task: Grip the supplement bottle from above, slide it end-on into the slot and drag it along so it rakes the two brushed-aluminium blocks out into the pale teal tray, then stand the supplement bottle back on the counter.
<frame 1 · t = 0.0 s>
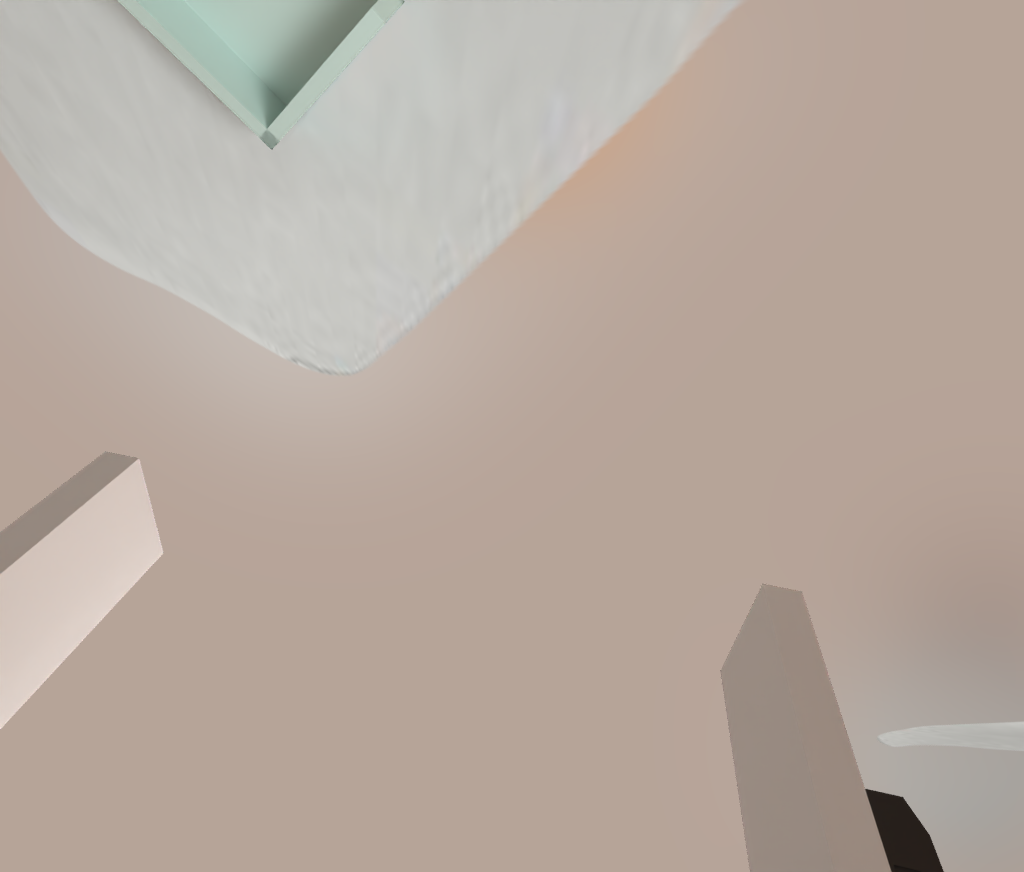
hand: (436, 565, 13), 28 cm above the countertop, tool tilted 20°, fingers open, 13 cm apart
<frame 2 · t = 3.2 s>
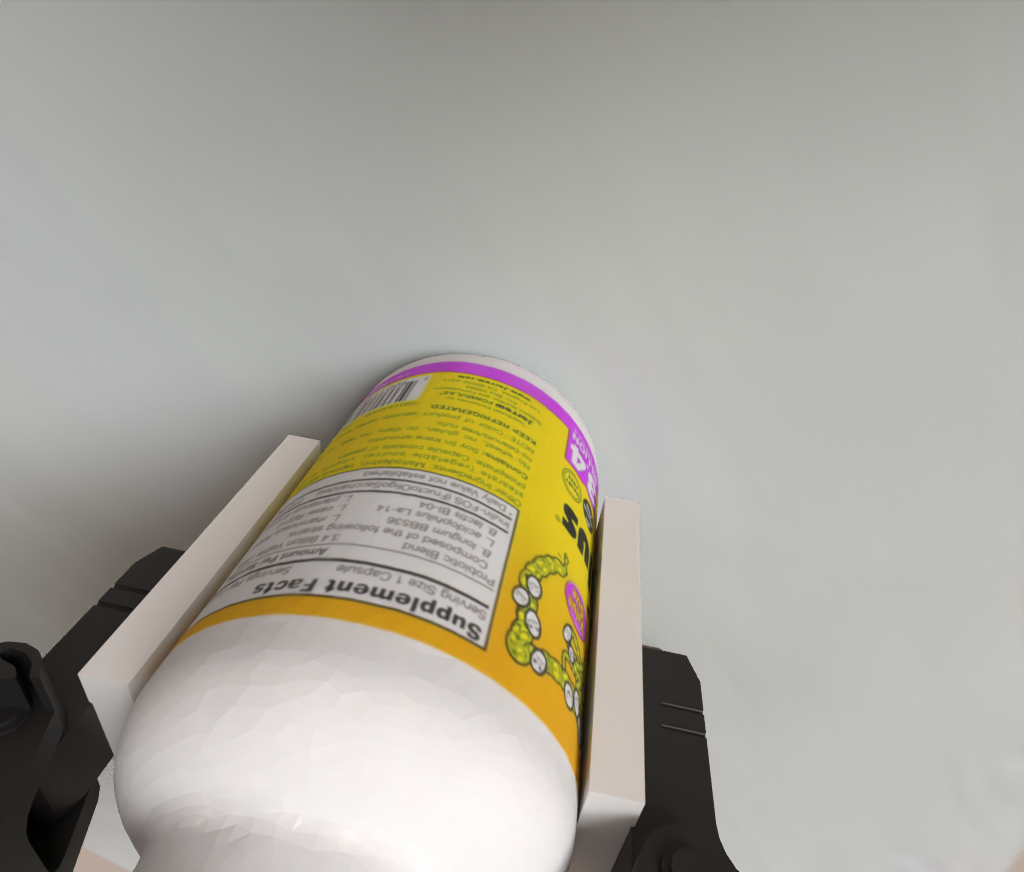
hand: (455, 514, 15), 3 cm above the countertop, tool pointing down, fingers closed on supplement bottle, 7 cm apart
supplement bottle: (479, 451, 17), on the countertop, touching gripper
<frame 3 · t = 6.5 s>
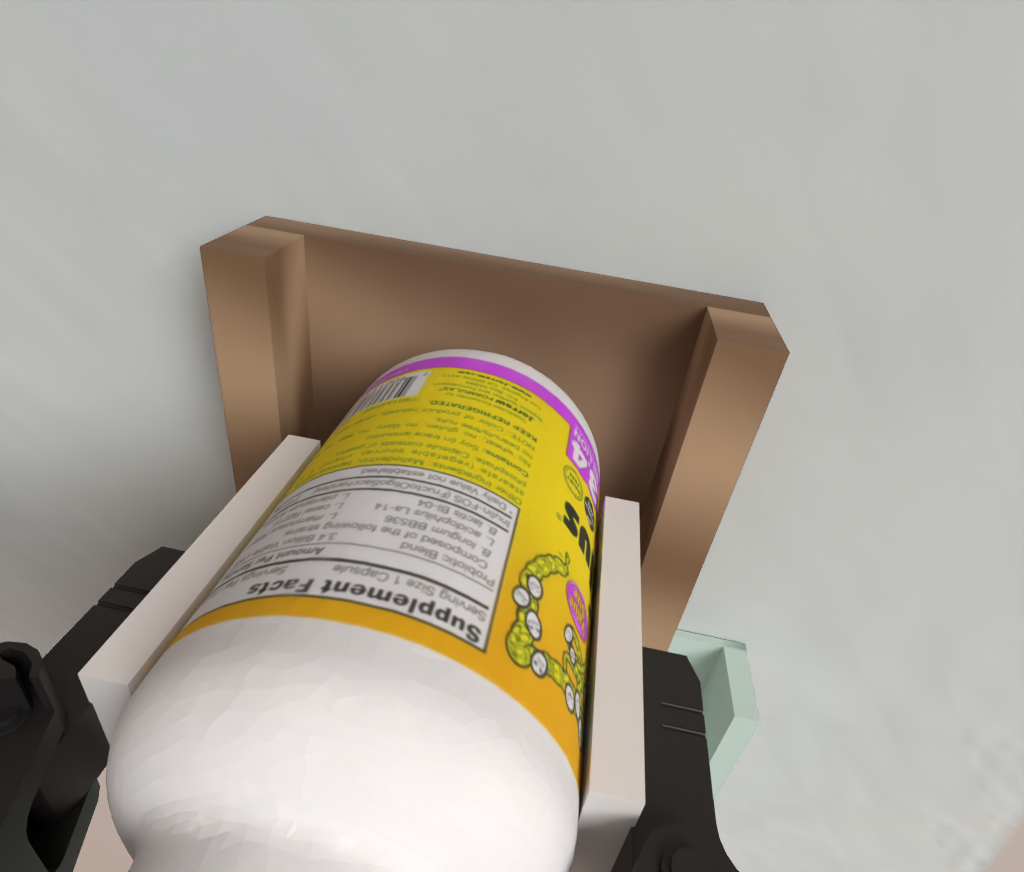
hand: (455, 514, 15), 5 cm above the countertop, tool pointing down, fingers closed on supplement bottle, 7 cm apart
slot board: (484, 449, 19), on the countertop
tray: (457, 671, 25), on the countertop
supplement bottle: (479, 448, 17), point 2 cm above the countertop, touching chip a, gripper
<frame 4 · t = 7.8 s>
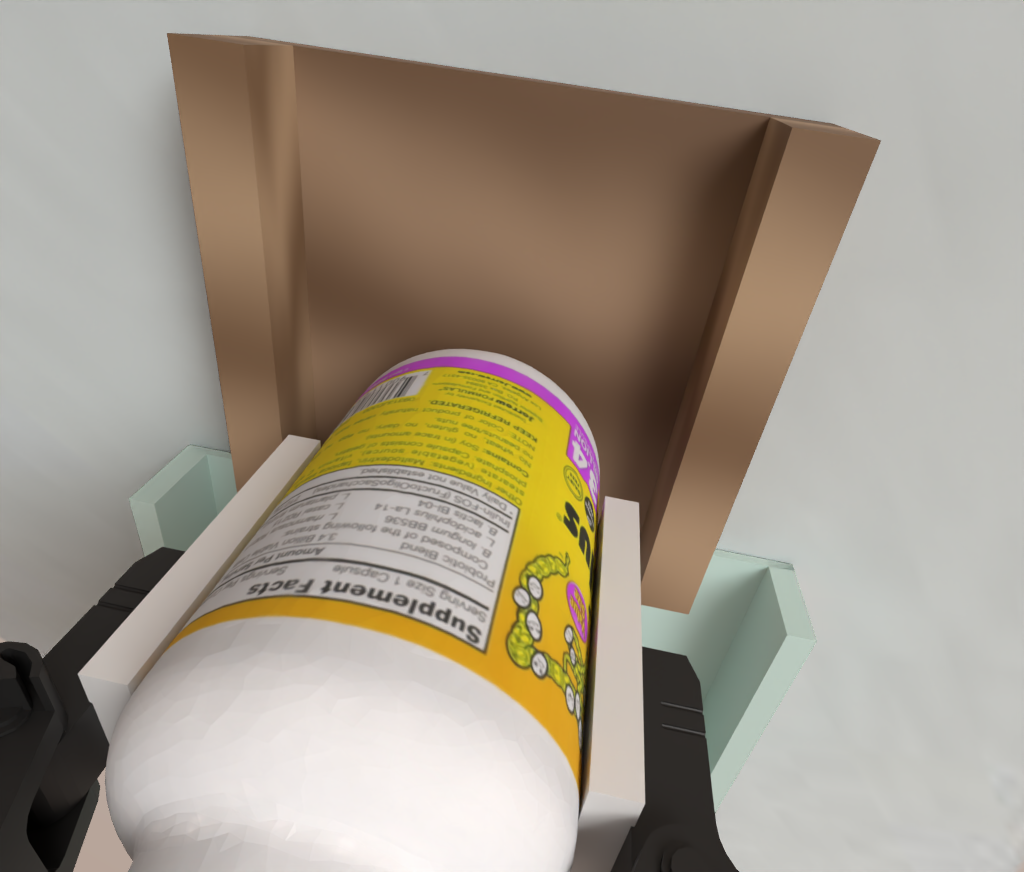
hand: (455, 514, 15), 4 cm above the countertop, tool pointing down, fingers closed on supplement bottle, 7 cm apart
slot board: (501, 331, 17), on the countertop
tray: (467, 607, 23), on the countertop
supplement bottle: (479, 448, 17), point 2 cm above the countertop, touching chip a, gripper
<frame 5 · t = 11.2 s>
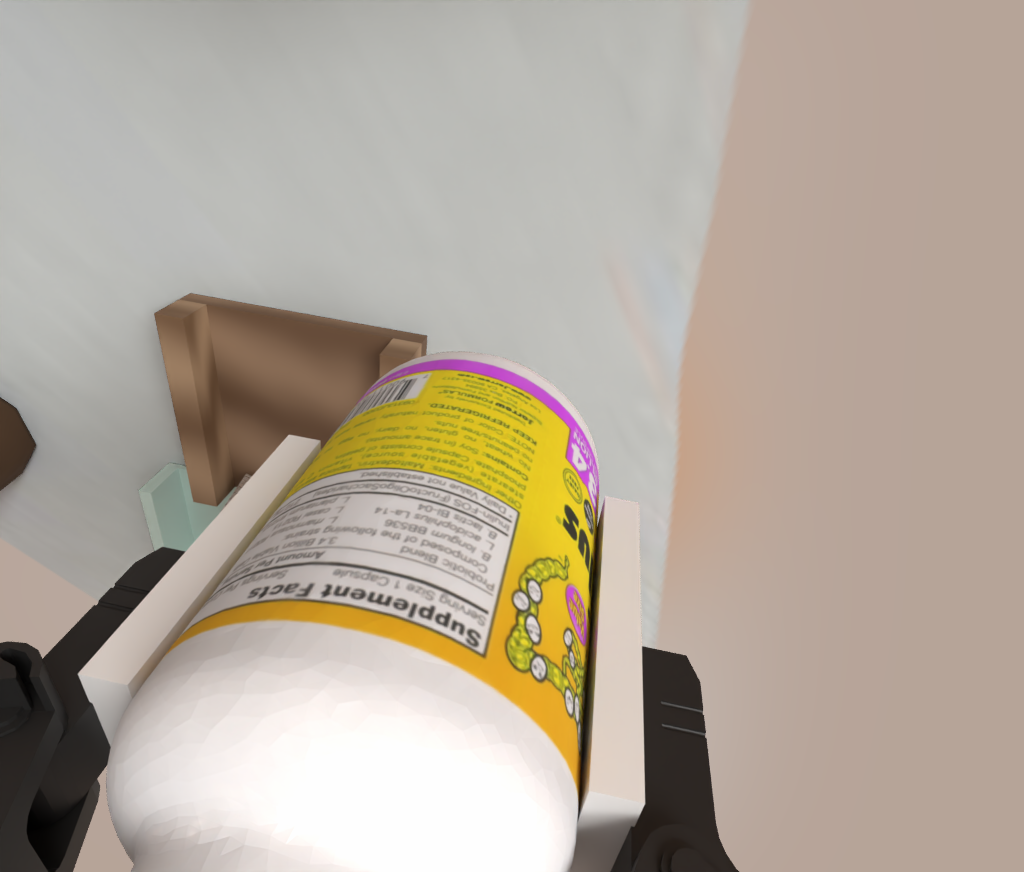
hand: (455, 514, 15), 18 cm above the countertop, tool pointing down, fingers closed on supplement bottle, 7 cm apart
slot board: (313, 411, 36), on the countertop
tray: (322, 550, 42), on the countertop
supplement bottle: (478, 450, 17), point 15 cm above the countertop, touching gripper
when the fingers open (3 cm above the countertop, at t = 14.0 s): supplement bottle drops 1 cm, on the countertop.
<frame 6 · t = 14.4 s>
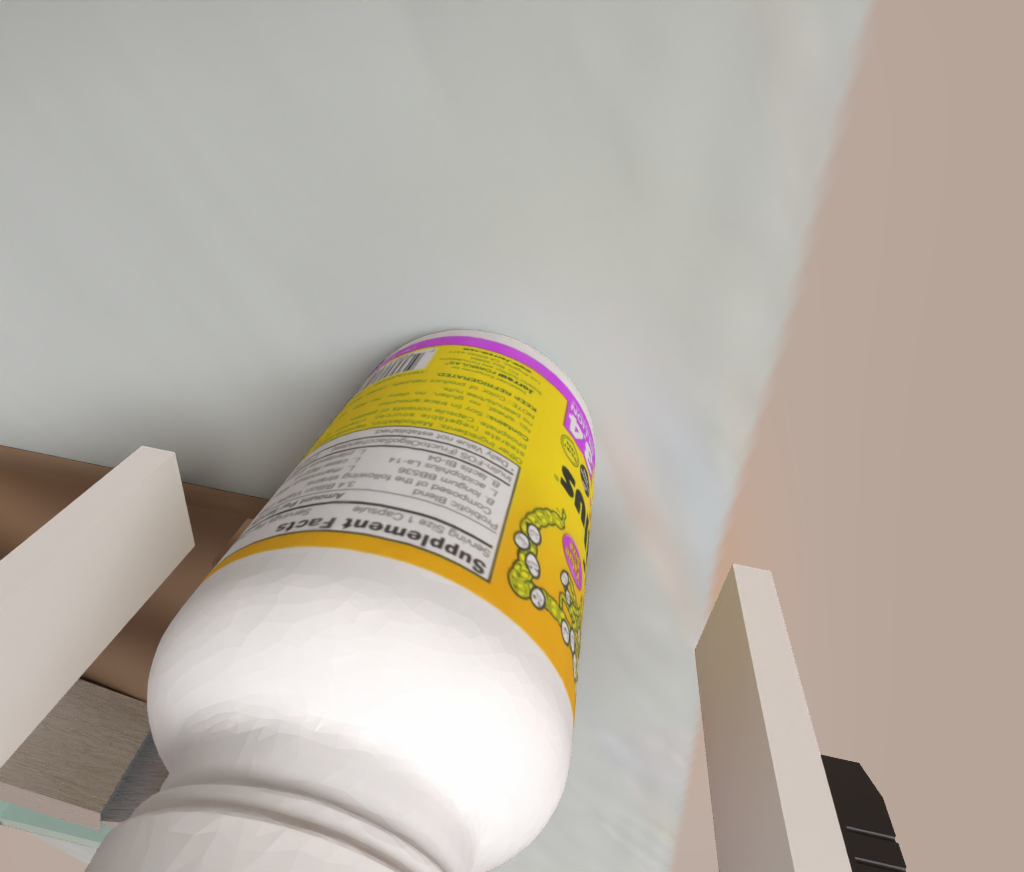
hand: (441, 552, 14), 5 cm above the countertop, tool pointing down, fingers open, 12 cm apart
slot board: (155, 594, 24), on the countertop
tray: (199, 753, 30), on the countertop
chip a: (114, 706, 27), point 1 cm above the countertop, tilted 11°, touching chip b, slot board, tray
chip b: (223, 739, 27), point 1 cm above the countertop, tilted 9°, touching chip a, slot board, tray
supplement bottle: (481, 426, 18), on the countertop
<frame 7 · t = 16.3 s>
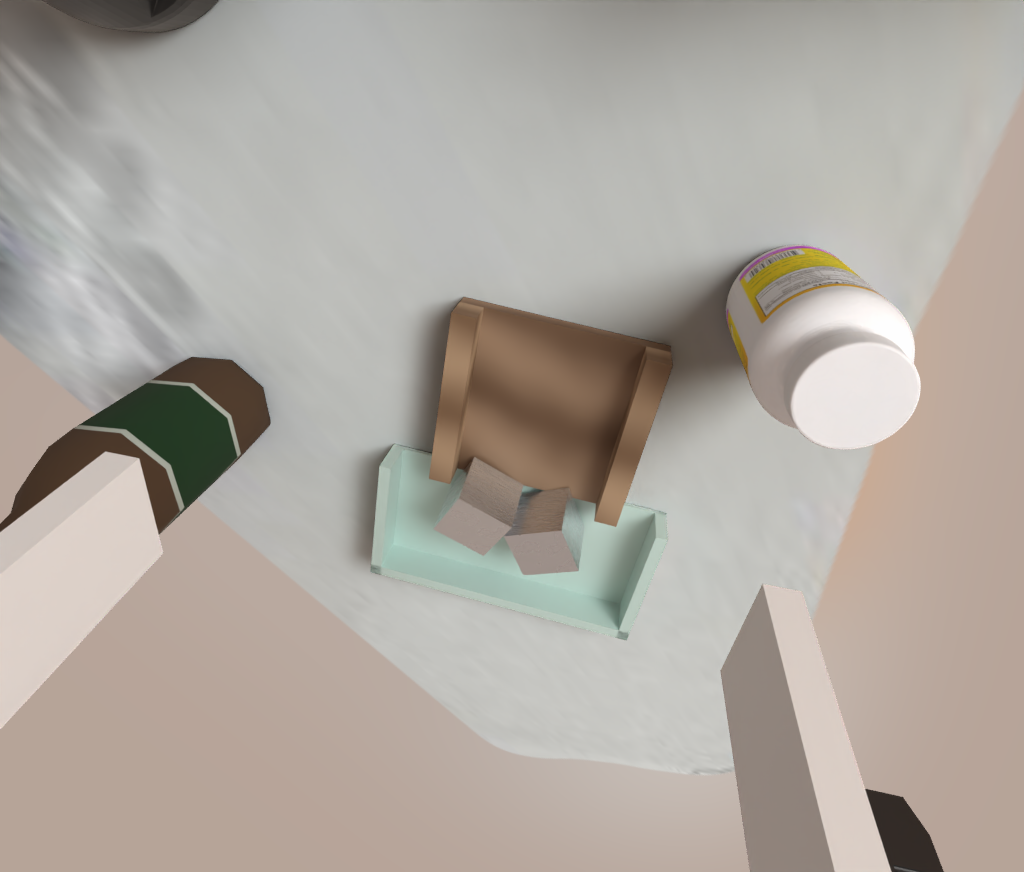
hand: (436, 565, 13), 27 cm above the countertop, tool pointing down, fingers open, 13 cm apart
slot board: (545, 405, 41), on the countertop
tray: (515, 531, 47), on the countertop
beer bottle: (226, 399, 46), on the countertop
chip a: (485, 486, 44), point 1 cm above the countertop, tilted 11°, touching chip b, slot board, tray
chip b: (550, 511, 44), point 1 cm above the countertop, tilted 9°, touching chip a, slot board, tray
supplement bottle: (785, 299, 35), on the countertop
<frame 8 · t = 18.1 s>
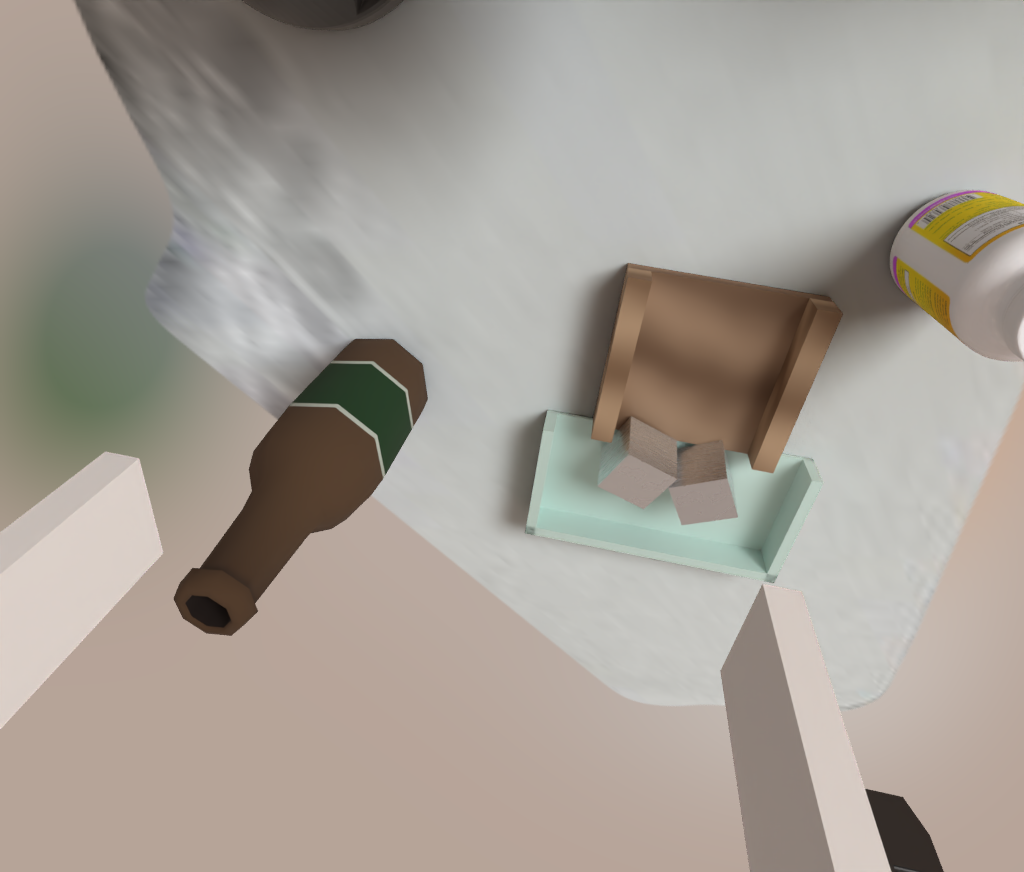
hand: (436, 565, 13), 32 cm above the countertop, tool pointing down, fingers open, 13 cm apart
slot board: (701, 362, 43), on the countertop
tray: (661, 486, 49), on the countertop
beer bottle: (384, 378, 48), on the countertop
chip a: (638, 444, 47), point 1 cm above the countertop, tilted 11°, touching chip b, slot board, tray
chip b: (700, 464, 47), point 1 cm above the countertop, tilted 9°, touching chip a, slot board, tray
supplement bottle: (946, 244, 37), on the countertop
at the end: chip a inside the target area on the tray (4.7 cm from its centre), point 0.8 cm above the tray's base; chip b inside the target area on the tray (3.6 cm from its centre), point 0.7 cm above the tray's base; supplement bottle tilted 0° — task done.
